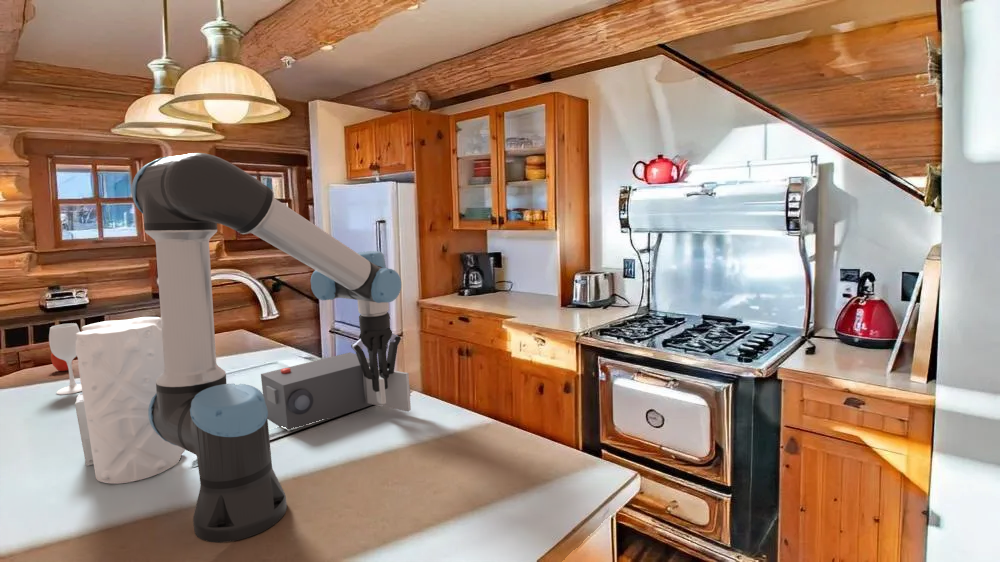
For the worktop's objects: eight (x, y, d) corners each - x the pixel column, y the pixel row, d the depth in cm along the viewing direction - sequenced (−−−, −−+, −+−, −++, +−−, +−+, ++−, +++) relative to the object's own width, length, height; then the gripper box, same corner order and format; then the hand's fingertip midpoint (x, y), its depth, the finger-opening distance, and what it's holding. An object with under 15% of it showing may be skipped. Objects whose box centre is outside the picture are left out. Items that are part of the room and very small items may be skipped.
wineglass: (76, 394, 172) (66, 328, 169) (49, 395, 172) (38, 329, 169) (97, 385, 180) (87, 322, 177) (70, 386, 181) (60, 322, 178)
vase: (83, 494, 111) (57, 337, 106) (102, 460, 125) (80, 321, 120) (181, 473, 118) (161, 326, 113) (188, 443, 132) (170, 312, 127)
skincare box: (117, 459, 125) (108, 396, 123) (84, 467, 122) (74, 402, 120) (117, 446, 132) (108, 386, 130) (86, 453, 129) (76, 392, 127)
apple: (48, 373, 196) (44, 352, 195) (64, 367, 203) (61, 347, 201) (63, 373, 195) (60, 352, 194) (79, 368, 201) (76, 348, 200)
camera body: (383, 404, 154) (379, 359, 152) (289, 435, 135) (284, 384, 133) (353, 391, 165) (349, 349, 163) (263, 418, 147) (258, 371, 145)
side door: (368, 400, 153) (365, 365, 151) (412, 409, 145) (409, 372, 144) (364, 402, 151) (361, 367, 150) (408, 411, 144) (406, 374, 142)
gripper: (390, 306, 146) (397, 392, 150) (343, 315, 139) (352, 404, 143) (403, 311, 140) (410, 399, 144) (355, 319, 133) (364, 413, 137)
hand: (381, 402), depth 143 cm, fingers closed
